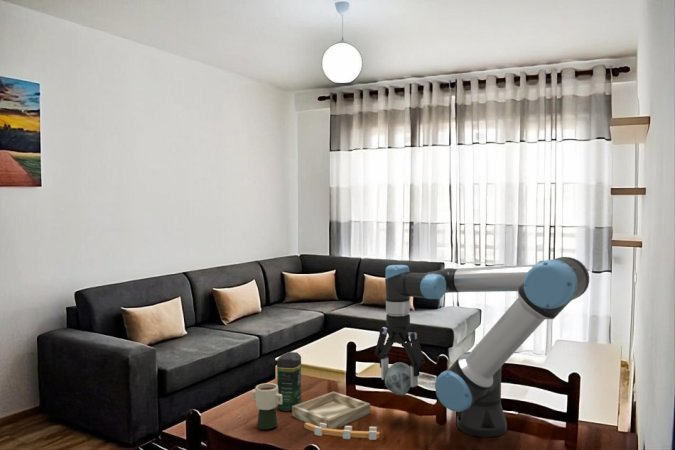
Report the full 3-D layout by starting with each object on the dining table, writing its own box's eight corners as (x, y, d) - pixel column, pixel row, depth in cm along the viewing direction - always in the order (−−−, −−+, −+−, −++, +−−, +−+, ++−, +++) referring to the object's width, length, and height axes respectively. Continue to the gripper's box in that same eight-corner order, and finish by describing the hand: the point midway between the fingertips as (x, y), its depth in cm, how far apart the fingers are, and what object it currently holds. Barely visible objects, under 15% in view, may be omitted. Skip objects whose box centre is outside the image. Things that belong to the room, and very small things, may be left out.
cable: (380, 436, 162) (380, 431, 162) (377, 441, 158) (377, 437, 158) (305, 426, 170) (305, 422, 169) (301, 431, 166) (301, 427, 166)
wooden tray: (370, 414, 179) (370, 403, 179) (328, 431, 165) (328, 420, 165) (333, 401, 191) (333, 391, 191) (292, 416, 177) (291, 406, 177)
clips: (378, 434, 163) (378, 426, 163) (376, 441, 158) (375, 433, 158) (317, 429, 167) (317, 422, 167) (313, 436, 162) (313, 428, 162)
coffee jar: (297, 412, 181) (296, 358, 180) (274, 411, 182) (273, 357, 182) (304, 402, 190) (303, 350, 190) (282, 401, 192) (282, 349, 191)
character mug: (288, 425, 171) (287, 385, 170) (277, 434, 164) (276, 392, 163) (258, 420, 175) (257, 381, 174) (246, 429, 168) (245, 388, 168)
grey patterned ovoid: (416, 388, 162) (401, 357, 165) (388, 401, 164) (374, 370, 167) (423, 385, 175) (409, 356, 178) (397, 397, 176) (384, 369, 180)
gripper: (435, 316, 165) (437, 387, 165) (377, 307, 181) (378, 372, 182) (421, 320, 159) (422, 393, 160) (362, 311, 176) (364, 377, 177)
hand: (399, 382), depth 171 cm, fingers closed on grey patterned ovoid, 11 cm apart
